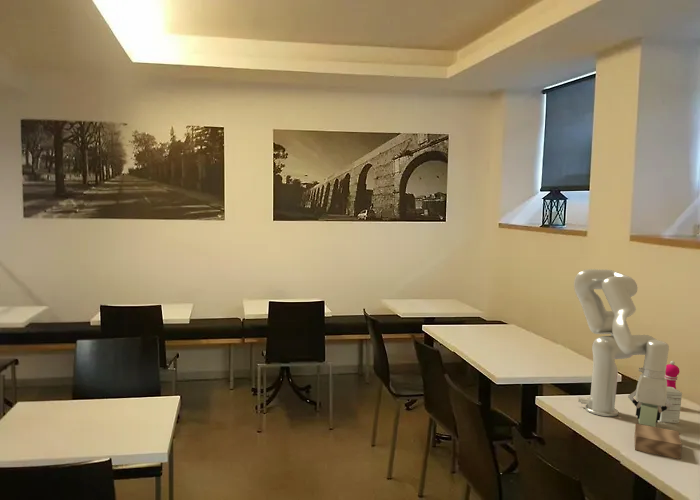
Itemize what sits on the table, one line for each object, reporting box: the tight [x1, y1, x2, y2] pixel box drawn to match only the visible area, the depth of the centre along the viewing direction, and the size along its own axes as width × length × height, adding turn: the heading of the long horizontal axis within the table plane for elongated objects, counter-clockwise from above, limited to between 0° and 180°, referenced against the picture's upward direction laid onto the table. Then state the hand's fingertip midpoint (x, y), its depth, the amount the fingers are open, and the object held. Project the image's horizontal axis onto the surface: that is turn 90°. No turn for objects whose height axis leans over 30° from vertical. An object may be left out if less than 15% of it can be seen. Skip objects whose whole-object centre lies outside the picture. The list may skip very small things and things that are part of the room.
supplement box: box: [659, 387, 683, 424], centre depth 247 cm, size 7×7×13 cm
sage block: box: [638, 403, 658, 427], centre depth 230 cm, size 6×6×7 cm
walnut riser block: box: [633, 423, 683, 460], centre depth 216 cm, size 14×14×5 cm
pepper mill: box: [665, 360, 680, 389], centre depth 264 cm, size 7×7×20 cm
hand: (647, 419), depth 231 cm, fingers closed on sage block, 5 cm apart
